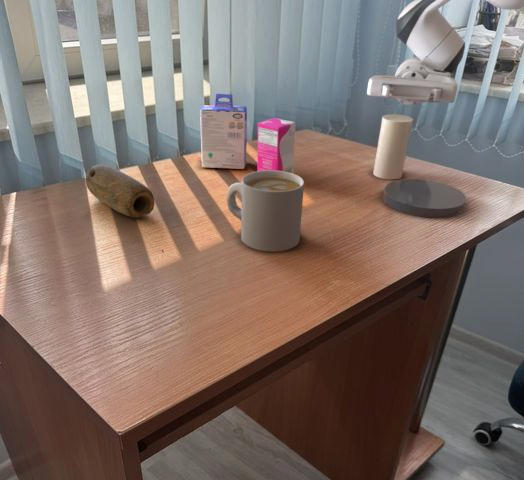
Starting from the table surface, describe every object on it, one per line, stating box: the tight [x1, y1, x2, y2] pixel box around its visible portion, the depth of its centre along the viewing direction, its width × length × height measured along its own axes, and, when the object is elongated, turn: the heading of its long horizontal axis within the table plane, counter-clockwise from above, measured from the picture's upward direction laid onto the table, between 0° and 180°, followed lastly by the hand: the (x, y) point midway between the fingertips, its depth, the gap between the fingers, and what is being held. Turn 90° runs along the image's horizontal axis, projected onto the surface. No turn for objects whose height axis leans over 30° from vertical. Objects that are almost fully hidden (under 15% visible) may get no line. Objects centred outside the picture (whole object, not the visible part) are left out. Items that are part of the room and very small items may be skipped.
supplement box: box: [256, 117, 296, 174], centre depth 109 cm, size 6×6×12 cm
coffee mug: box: [226, 170, 305, 252], centre depth 87 cm, size 13×10×10 cm
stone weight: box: [85, 164, 155, 218], centre depth 95 cm, size 15×7×7 cm, turn 49°
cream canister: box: [372, 113, 414, 180], centre depth 113 cm, size 6×6×12 cm
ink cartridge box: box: [199, 93, 248, 170], centre depth 114 cm, size 10×6×14 cm, turn 89°
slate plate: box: [382, 178, 467, 219], centre depth 104 cm, size 16×16×2 cm
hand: (410, 95), depth 116 cm, fingers open, 8 cm apart
